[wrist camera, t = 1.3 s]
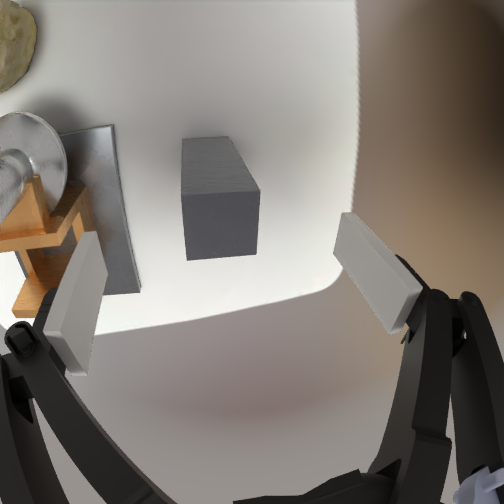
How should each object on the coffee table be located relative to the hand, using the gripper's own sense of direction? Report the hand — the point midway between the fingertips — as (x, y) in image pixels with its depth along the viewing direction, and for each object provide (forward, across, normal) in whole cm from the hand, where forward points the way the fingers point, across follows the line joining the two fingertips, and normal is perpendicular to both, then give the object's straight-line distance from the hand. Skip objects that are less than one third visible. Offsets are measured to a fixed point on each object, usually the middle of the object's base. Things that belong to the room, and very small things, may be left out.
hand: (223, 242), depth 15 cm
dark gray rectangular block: (+13, 0, 0) cm, 13 cm away
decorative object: (+13, -19, +14) cm, 27 cm away
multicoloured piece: (+13, -15, -3) cm, 20 cm away
